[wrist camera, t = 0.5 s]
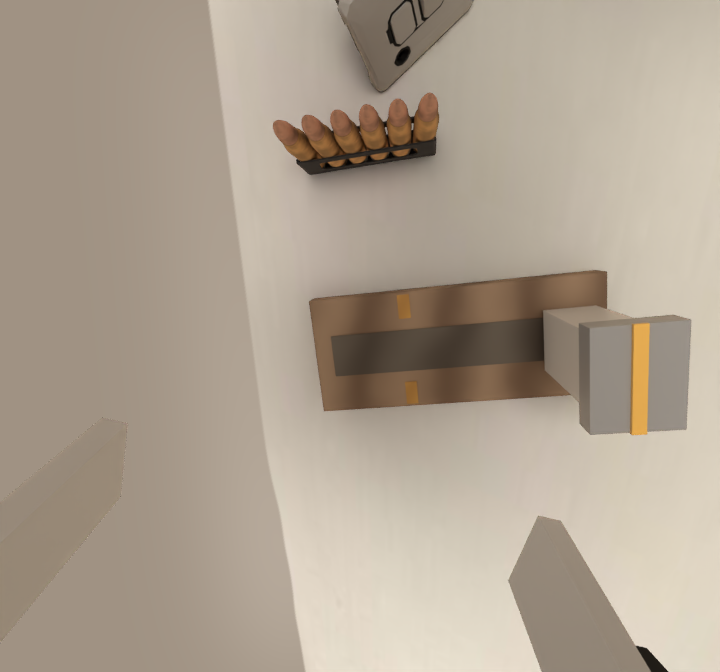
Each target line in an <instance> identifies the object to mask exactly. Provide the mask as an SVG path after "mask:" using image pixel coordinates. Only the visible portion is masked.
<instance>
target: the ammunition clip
mask: <svg viewBox="0 0 720 672" xmlns="http://www.w3.org/2000/svg"><path fill="white" fill-rule="evenodd" d="M359 120H360V126H356V125H355V123H354V122H352V121H351V120H350V119H349V117H348V116H347V115H346V114H345V113H344V112H343V111H341V110H334V111H333V112H332V113H331V116H330V122H331V125H332V128H333V131H331V130H330V129H329V127H327V126H326V125H324V124H322V123H321V122H320V121H319V120H318V119H317V118H315V117H314V116H311V115H305V116H303V118H302V128H303V130H304V132H305V133H304V132H303V131H301V130H300V129H296V128H295V127H293V126H292V125H291V124H289V123H288V122H286V121H282V120H277V121H275V122H274V123H273V129H274V132H275V135H276V136H277V137H278V139H279V140H280V141H281V142H282V143H283V144H284V146H285V148H286V149H287V151H288V152H289V153H291V154H292V155H293V156H295V157H296V158H297V160H296V161H297V164H298V165H299V166H300V167H302V168H303V169H304V170H305V171H306V172H307V173H308V174H310V175H312V174H318V173H324V172H331V171H337V170H343V169H349V168H355V167H362V166H368V165H374V164H380V163H386V162H393V161H399V160H405V159H411V158H417V157H424V156H430V155H435V153H436V137H435V136H436V132H437V127H438V123H439V114H438V102H437V98H436V97H435V95H434V94H432V93H427V94H426V95H424V96H423V98H422V99H421V101H420V103H419V106H418V110H417V111H416V113H415V116H414V117H410V116H409V114H408V109H407V106H406V104H405V103H404V101H402V100H401V99H395V100H394V101H393V102H392V103H391V105H390V107H389V117H388V120H387V121H385V122H383V121H382V120H381V118H380V117H379V116H378V113H377V112H376V110H375V109H374V107H372V106H371V105H368V104H365V105H363V106H362V107H361V109H360V112H359ZM412 123H414V128H413V130H412V131H411V124H412ZM385 127H387V131H388V135H386V132H385ZM360 132H361V134H360ZM362 138H363V139H362ZM299 160H300V161H301V162H300V161H299Z"/></svg>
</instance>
